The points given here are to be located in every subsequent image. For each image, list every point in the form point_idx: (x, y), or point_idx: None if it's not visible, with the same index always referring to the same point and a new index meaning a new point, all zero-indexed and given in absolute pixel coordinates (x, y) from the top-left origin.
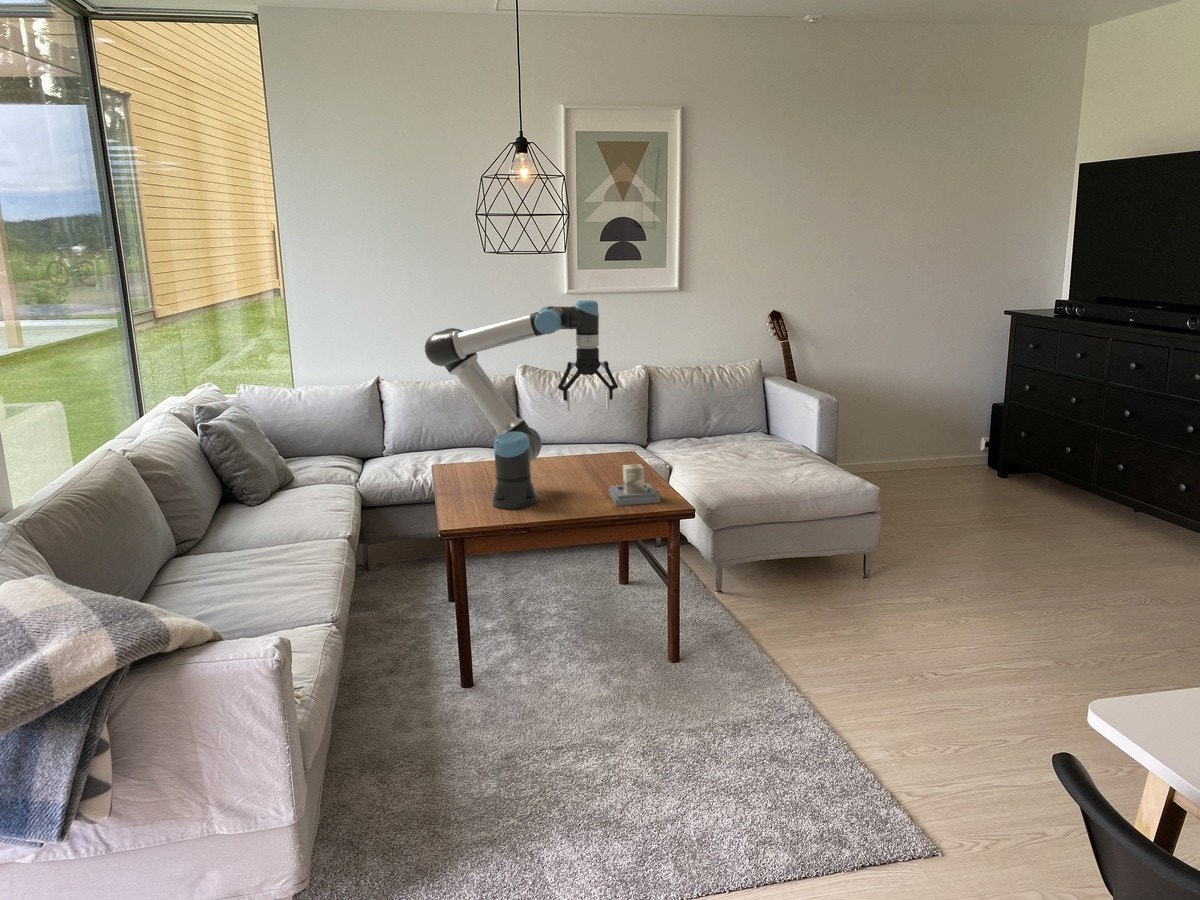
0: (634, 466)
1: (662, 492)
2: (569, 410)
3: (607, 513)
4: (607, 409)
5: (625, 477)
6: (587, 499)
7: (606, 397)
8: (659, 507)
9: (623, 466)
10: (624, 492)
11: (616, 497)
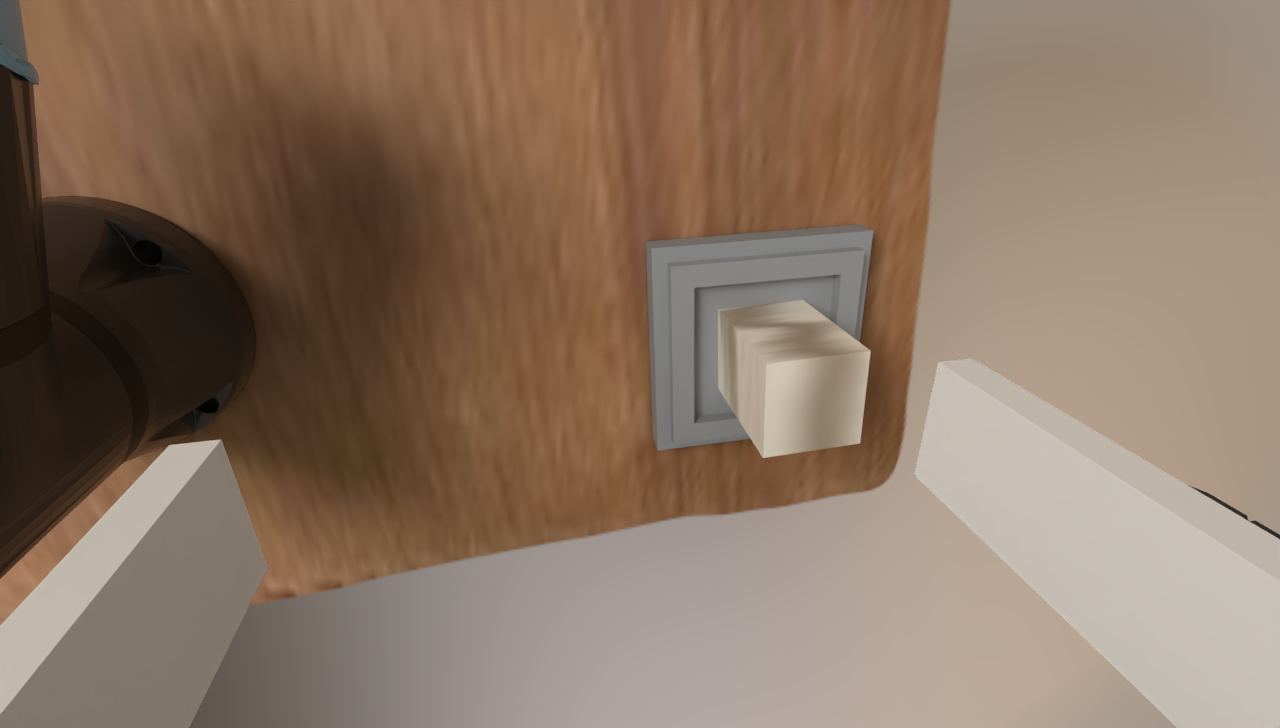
0: (822, 404)
1: (897, 251)
2: (261, 574)
3: (607, 515)
4: (918, 476)
5: (745, 406)
6: (530, 312)
7: (1101, 505)
8: (814, 462)
9: (764, 381)
10: (716, 340)
11: (666, 415)
